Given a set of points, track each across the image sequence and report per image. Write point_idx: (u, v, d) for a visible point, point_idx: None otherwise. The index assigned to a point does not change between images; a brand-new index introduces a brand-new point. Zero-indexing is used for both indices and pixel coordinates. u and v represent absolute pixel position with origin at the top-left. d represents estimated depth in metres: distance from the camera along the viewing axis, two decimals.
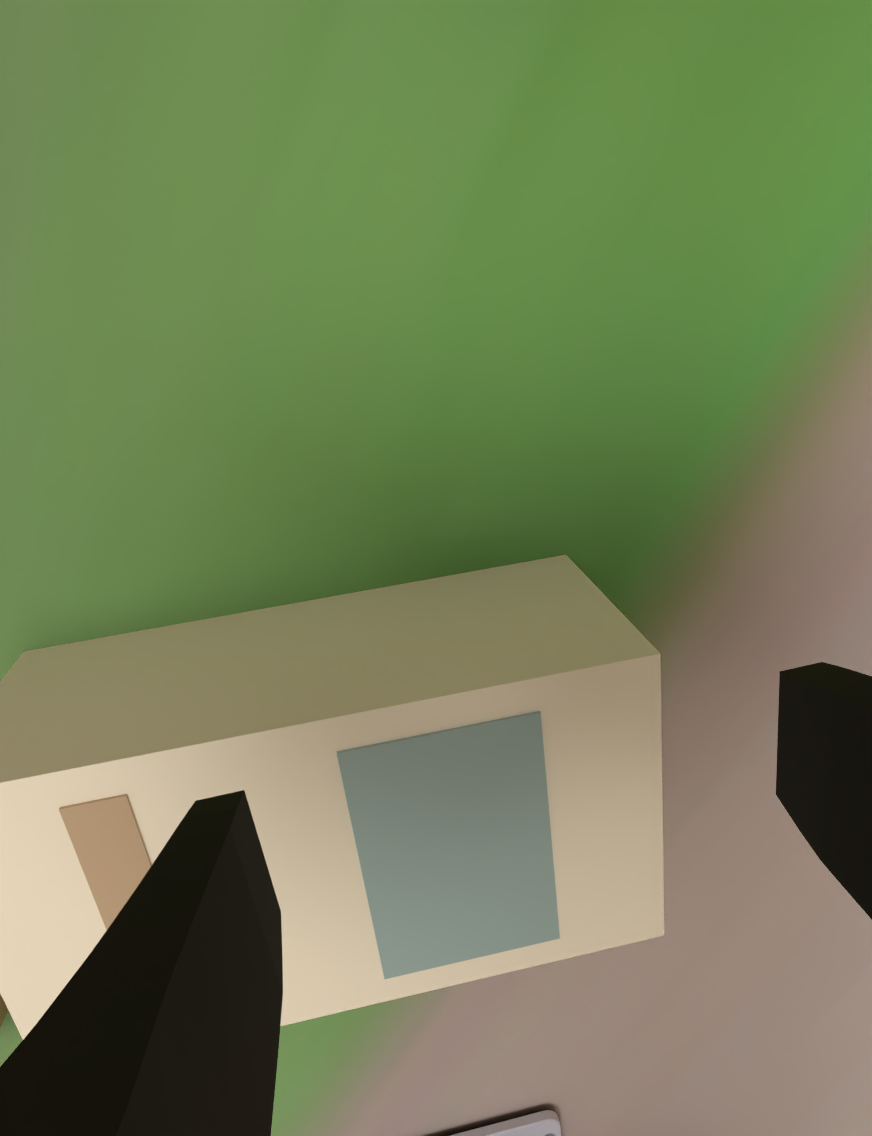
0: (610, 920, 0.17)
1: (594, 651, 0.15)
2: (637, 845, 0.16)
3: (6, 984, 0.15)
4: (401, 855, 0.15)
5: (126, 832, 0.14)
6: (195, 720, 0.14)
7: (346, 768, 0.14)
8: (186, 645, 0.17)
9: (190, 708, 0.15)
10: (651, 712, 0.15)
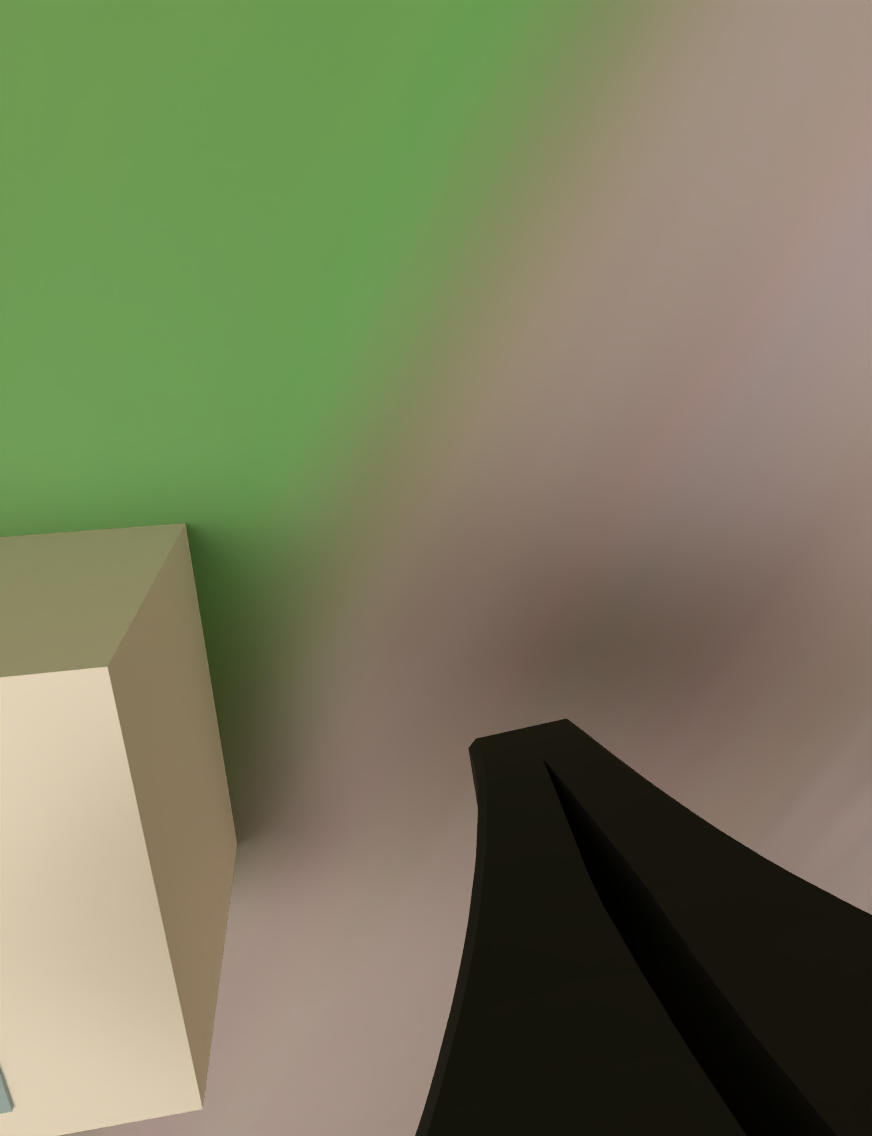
0: (102, 1085, 0.11)
1: (21, 654, 0.09)
2: (128, 975, 0.10)
3: None
4: None
5: None
6: None
7: None
8: None
9: None
10: (109, 765, 0.09)
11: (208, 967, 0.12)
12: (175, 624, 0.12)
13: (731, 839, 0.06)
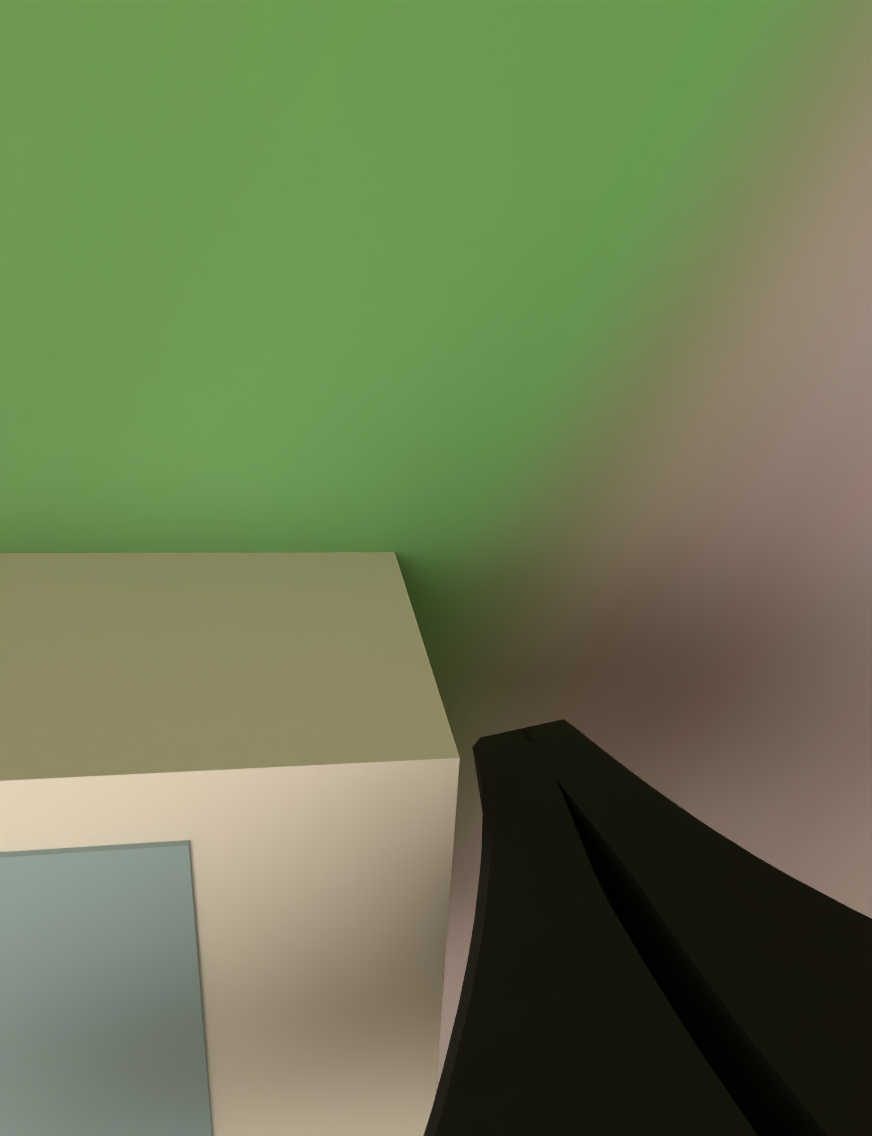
0: None
1: (337, 730, 0.07)
2: (385, 1103, 0.08)
3: None
4: None
5: None
6: None
7: None
8: None
9: None
10: (431, 869, 0.07)
11: None
12: None
13: (727, 840, 0.06)
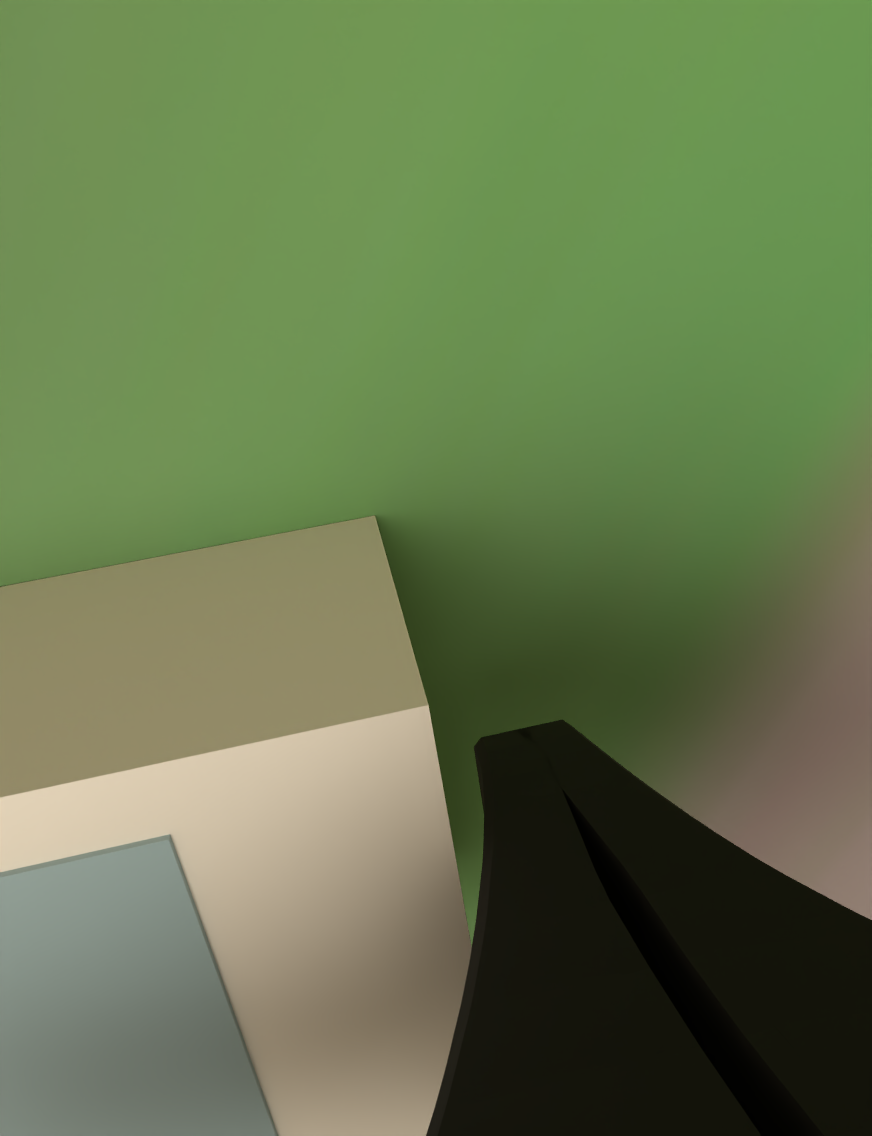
0: None
1: (304, 699, 0.07)
2: (440, 1067, 0.08)
3: None
4: None
5: None
6: None
7: None
8: None
9: None
10: (427, 825, 0.07)
11: None
12: None
13: (725, 840, 0.06)
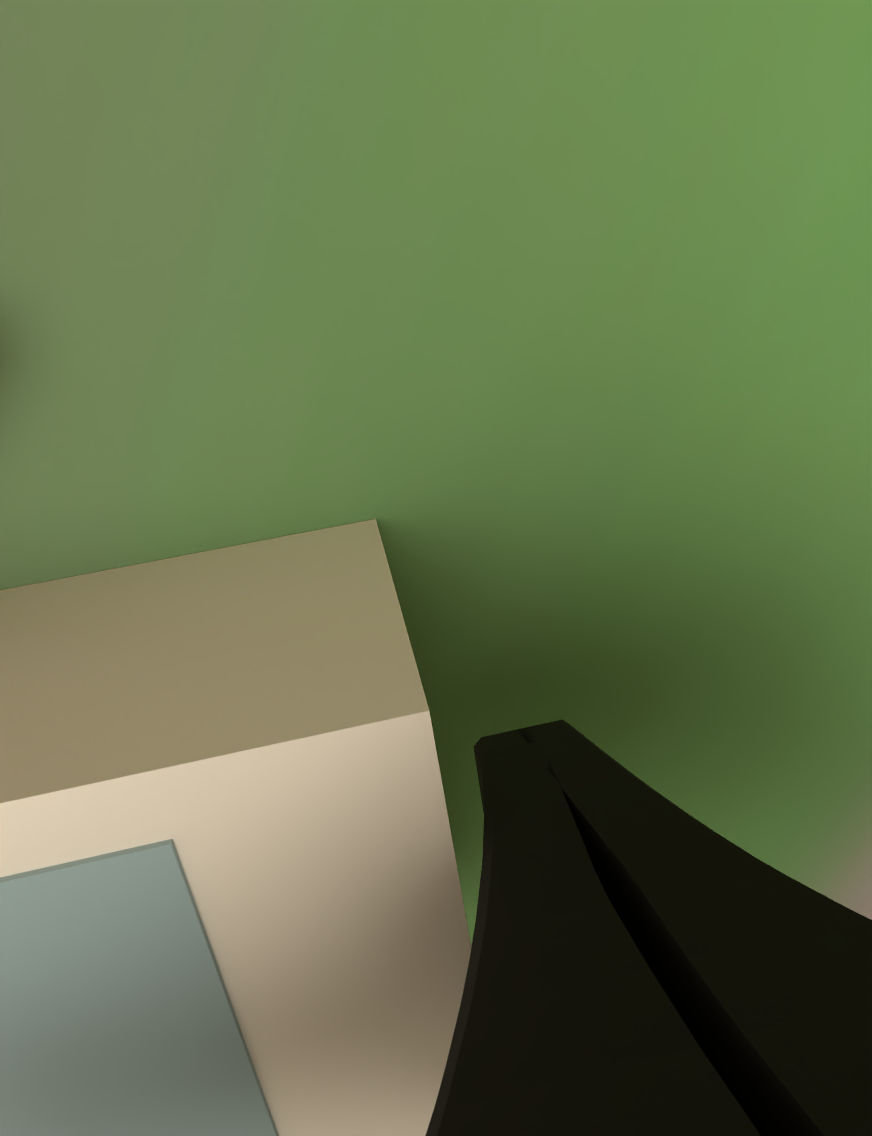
0: None
1: (305, 705, 0.07)
2: (441, 1071, 0.08)
3: None
4: None
5: None
6: None
7: None
8: None
9: None
10: (428, 830, 0.07)
11: None
12: None
13: (725, 840, 0.06)
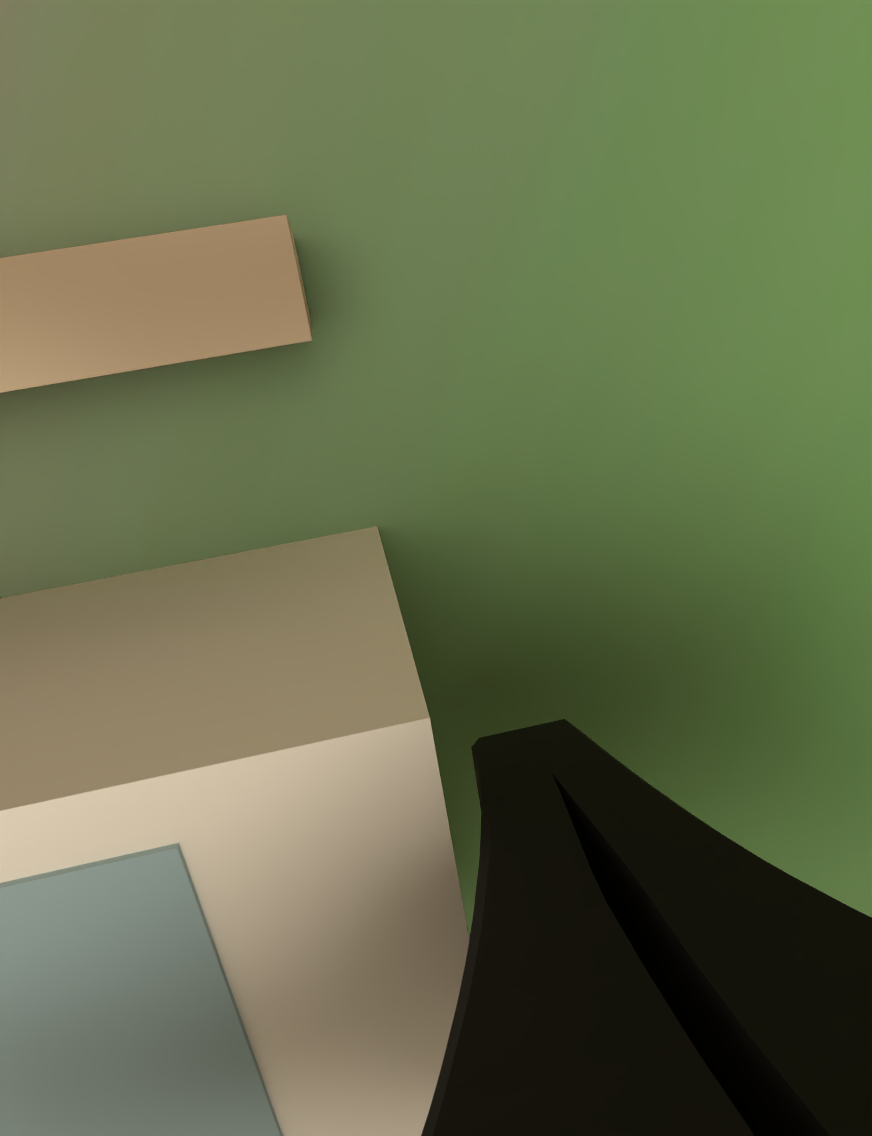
0: None
1: (309, 711, 0.07)
2: None
3: None
4: None
5: None
6: None
7: None
8: None
9: None
10: (428, 834, 0.07)
11: None
12: None
13: (728, 840, 0.06)
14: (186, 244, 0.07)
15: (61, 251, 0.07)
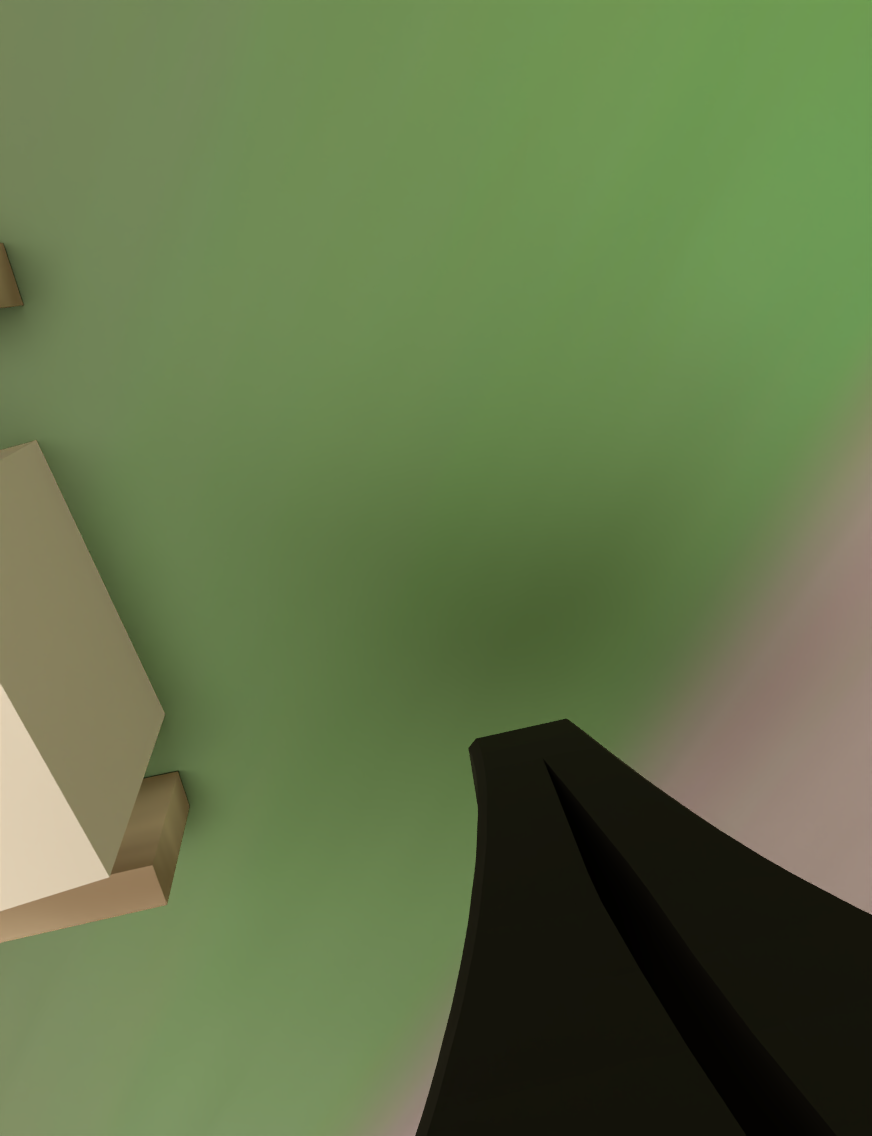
0: (22, 864, 0.14)
1: None
2: (10, 768, 0.13)
3: None
4: None
5: None
6: None
7: None
8: None
9: None
10: None
11: (112, 783, 0.15)
12: (24, 513, 0.15)
13: (731, 839, 0.06)
14: None
15: None
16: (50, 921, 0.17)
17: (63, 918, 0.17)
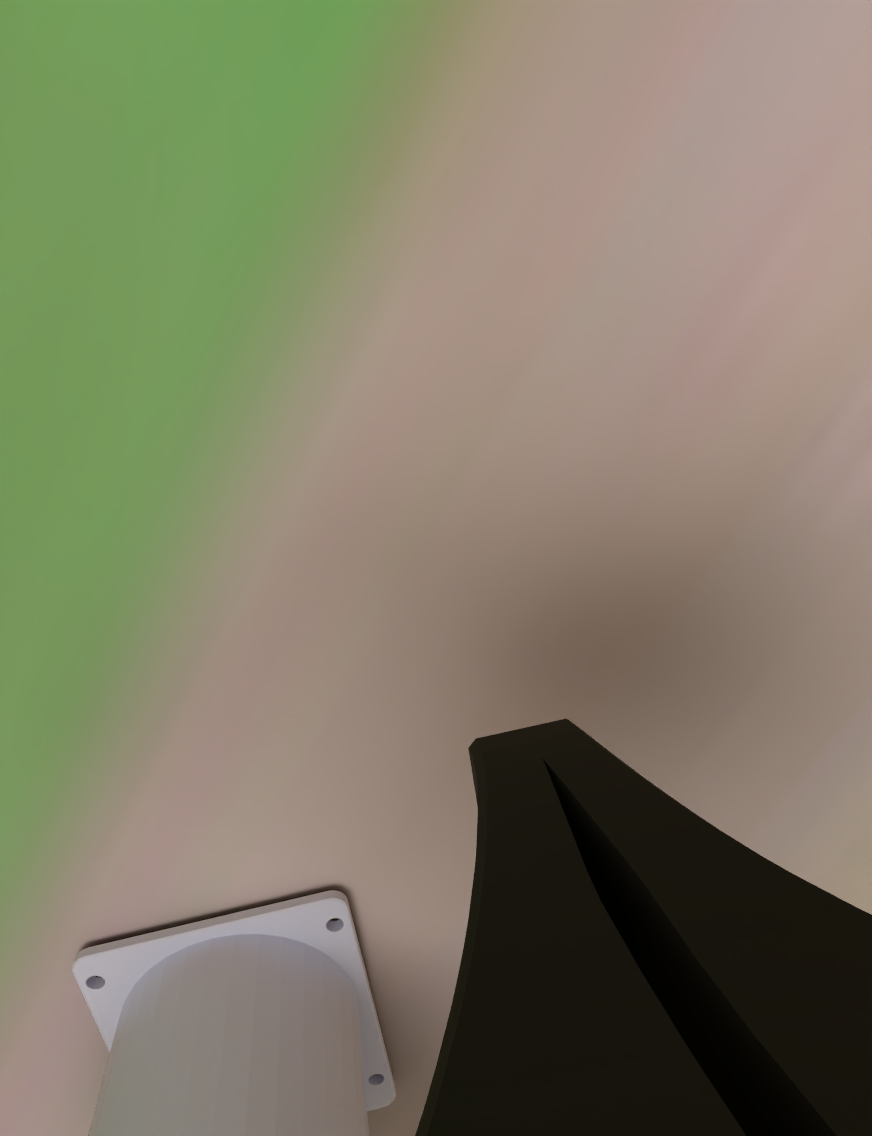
0: None
1: None
2: None
3: None
4: None
5: None
6: None
7: None
8: None
9: None
10: None
11: None
12: None
13: (731, 839, 0.06)
14: None
15: None
16: None
17: None
